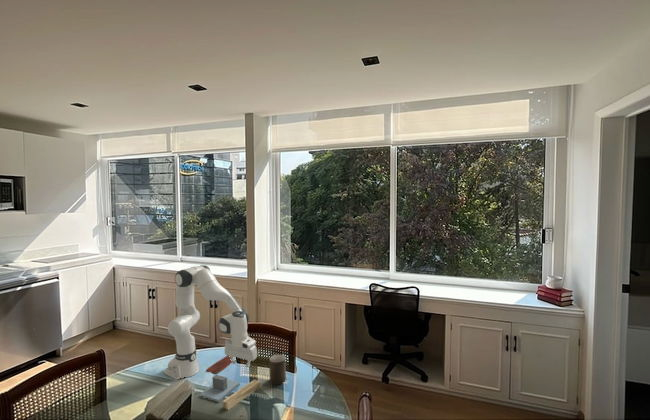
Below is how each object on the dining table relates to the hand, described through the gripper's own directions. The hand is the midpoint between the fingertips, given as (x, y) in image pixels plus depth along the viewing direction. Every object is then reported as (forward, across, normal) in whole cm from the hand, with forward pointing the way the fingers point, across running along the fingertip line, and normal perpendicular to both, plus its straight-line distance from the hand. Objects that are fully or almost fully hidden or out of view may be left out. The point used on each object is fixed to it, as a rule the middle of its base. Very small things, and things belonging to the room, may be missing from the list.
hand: (241, 364), depth 190 cm
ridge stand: (+19, -16, 0) cm, 25 cm away
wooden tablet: (+20, -35, +26) cm, 48 cm away
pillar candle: (+19, +10, +22) cm, 31 cm away
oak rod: (+19, 0, 0) cm, 19 cm away
